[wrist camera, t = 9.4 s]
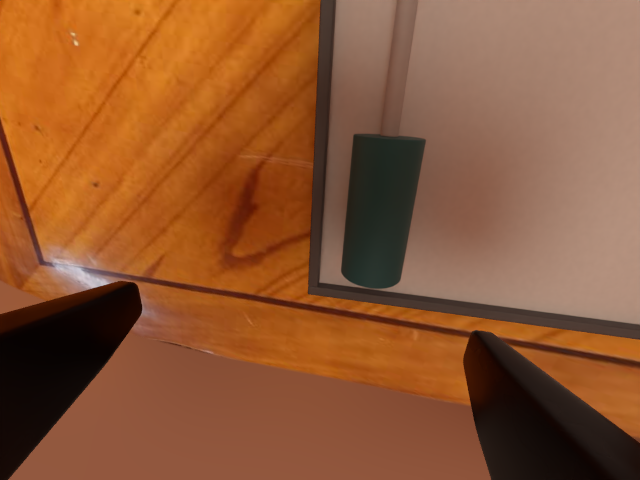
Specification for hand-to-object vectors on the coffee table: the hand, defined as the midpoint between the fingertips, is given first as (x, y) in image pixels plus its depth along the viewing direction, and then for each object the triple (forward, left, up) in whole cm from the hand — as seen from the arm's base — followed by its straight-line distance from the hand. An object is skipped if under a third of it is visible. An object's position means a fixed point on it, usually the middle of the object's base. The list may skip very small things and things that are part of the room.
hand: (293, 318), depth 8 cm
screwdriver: (+4, -2, -10) cm, 11 cm away
